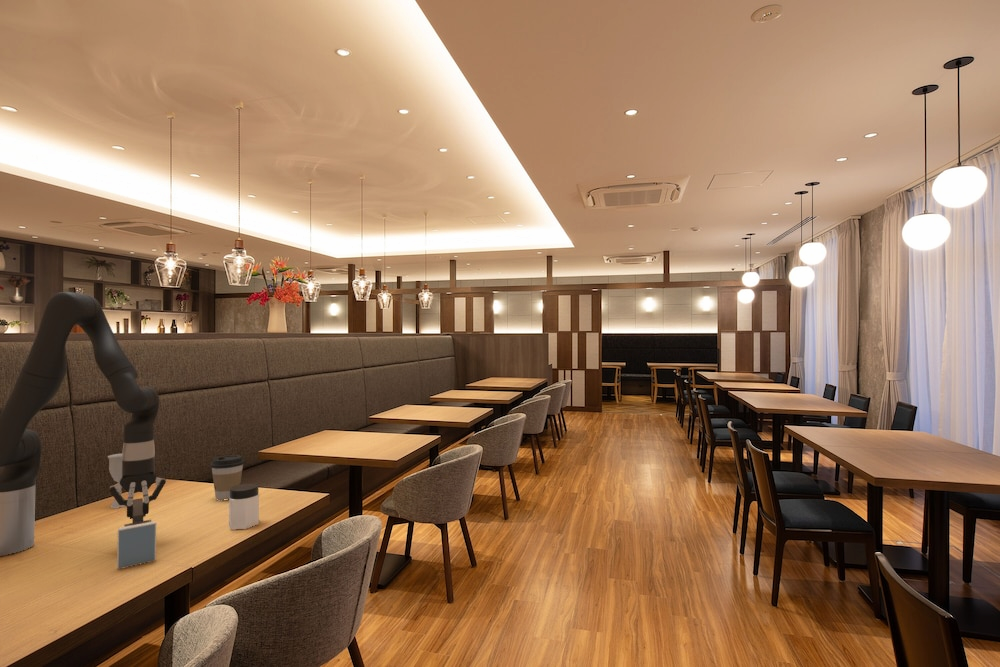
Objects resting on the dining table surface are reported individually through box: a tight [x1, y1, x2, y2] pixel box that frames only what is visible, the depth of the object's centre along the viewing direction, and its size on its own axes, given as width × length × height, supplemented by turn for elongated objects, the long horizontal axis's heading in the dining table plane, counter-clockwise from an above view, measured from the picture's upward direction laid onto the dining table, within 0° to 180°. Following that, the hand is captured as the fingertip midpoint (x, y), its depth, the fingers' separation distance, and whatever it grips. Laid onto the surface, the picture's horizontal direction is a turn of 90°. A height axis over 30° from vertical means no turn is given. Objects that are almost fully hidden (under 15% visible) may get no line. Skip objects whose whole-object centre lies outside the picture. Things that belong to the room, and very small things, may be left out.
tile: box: [116, 520, 157, 569], centre depth 124 cm, size 8×2×10 cm, turn 127°
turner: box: [123, 497, 152, 527], centre depth 135 cm, size 22×6×3 cm, turn 38°
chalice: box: [107, 453, 127, 509], centre depth 170 cm, size 7×7×18 cm
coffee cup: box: [209, 454, 245, 501], centre depth 179 cm, size 11×11×15 cm
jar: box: [228, 483, 260, 531], centre depth 151 cm, size 9×8×12 cm
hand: (137, 516), depth 137 cm, fingers closed on turner, 2 cm apart
